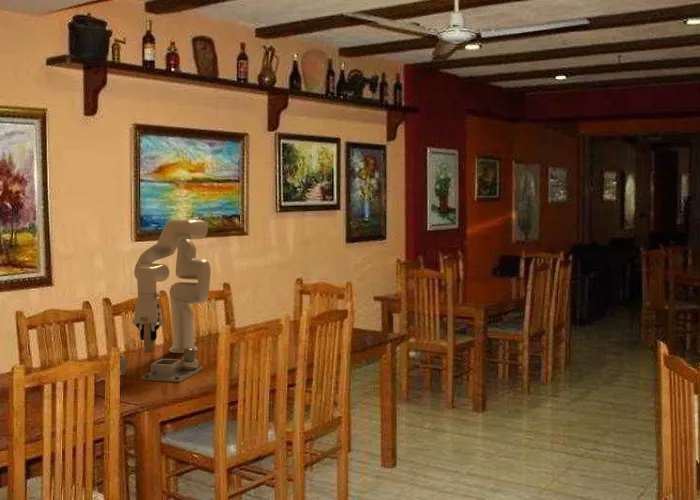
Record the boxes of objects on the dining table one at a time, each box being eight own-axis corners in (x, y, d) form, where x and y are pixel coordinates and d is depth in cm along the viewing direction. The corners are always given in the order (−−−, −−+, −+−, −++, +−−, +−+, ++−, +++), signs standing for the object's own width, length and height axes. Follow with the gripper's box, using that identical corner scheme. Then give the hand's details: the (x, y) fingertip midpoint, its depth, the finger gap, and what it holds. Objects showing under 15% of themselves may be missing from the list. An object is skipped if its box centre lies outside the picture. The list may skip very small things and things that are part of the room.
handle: (138, 352, 326) (137, 317, 324) (150, 349, 331) (149, 314, 329) (147, 354, 323) (145, 318, 321) (158, 351, 328) (157, 315, 326)
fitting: (167, 367, 330) (166, 345, 329) (202, 369, 326) (202, 347, 326) (141, 379, 309) (141, 356, 308) (179, 382, 305) (179, 359, 304)
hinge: (115, 372, 320) (122, 350, 318) (124, 377, 319) (130, 355, 316) (85, 381, 305) (91, 358, 303) (94, 387, 304) (100, 364, 301)
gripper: (170, 295, 326) (171, 338, 328) (133, 293, 330) (134, 336, 332) (161, 298, 319) (163, 343, 321) (124, 297, 322) (125, 340, 325)
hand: (148, 339), depth 326 cm, fingers closed on handle, 3 cm apart
